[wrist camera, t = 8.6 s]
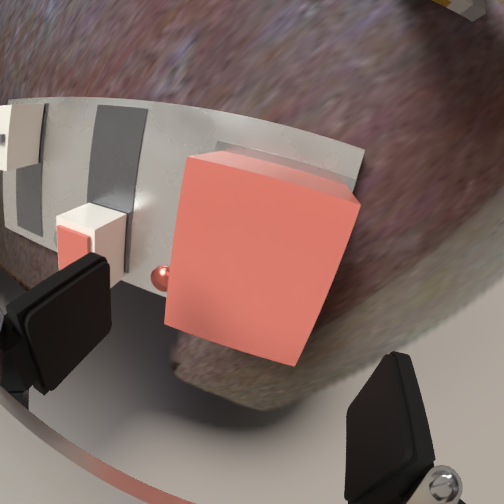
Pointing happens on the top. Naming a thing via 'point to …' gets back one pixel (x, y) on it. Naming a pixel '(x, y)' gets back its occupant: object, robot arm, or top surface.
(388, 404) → the robot arm
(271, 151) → the panel
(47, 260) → the top surface
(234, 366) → the top surface
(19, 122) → the block
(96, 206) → the block
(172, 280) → the lockout cap
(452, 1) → the toy
